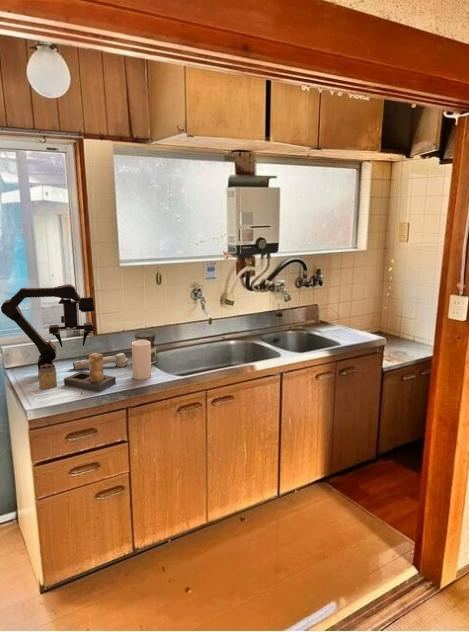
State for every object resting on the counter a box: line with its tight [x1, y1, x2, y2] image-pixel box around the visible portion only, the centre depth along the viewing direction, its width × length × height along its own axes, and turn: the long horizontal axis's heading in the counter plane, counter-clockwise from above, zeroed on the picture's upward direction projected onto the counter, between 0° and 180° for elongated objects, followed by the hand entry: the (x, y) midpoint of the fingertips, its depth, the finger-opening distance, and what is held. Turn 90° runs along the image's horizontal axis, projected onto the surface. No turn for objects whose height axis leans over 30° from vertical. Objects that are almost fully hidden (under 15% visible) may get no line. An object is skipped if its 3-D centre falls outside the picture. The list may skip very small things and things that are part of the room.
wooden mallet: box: [72, 352, 129, 371], centre depth 222 cm, size 5×7×25 cm
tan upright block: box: [37, 364, 58, 390], centre depth 195 cm, size 7×4×10 cm, turn 120°
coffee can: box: [133, 331, 157, 365], centre depth 230 cm, size 10×10×14 cm
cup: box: [131, 340, 152, 381], centre depth 209 cm, size 8×8×16 cm
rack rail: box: [63, 370, 117, 393], centre depth 200 cm, size 18×11×3 cm, turn 68°
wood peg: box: [88, 352, 105, 382], centre depth 197 cm, size 4×4×14 cm
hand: (72, 346), depth 210 cm, fingers open, 9 cm apart
